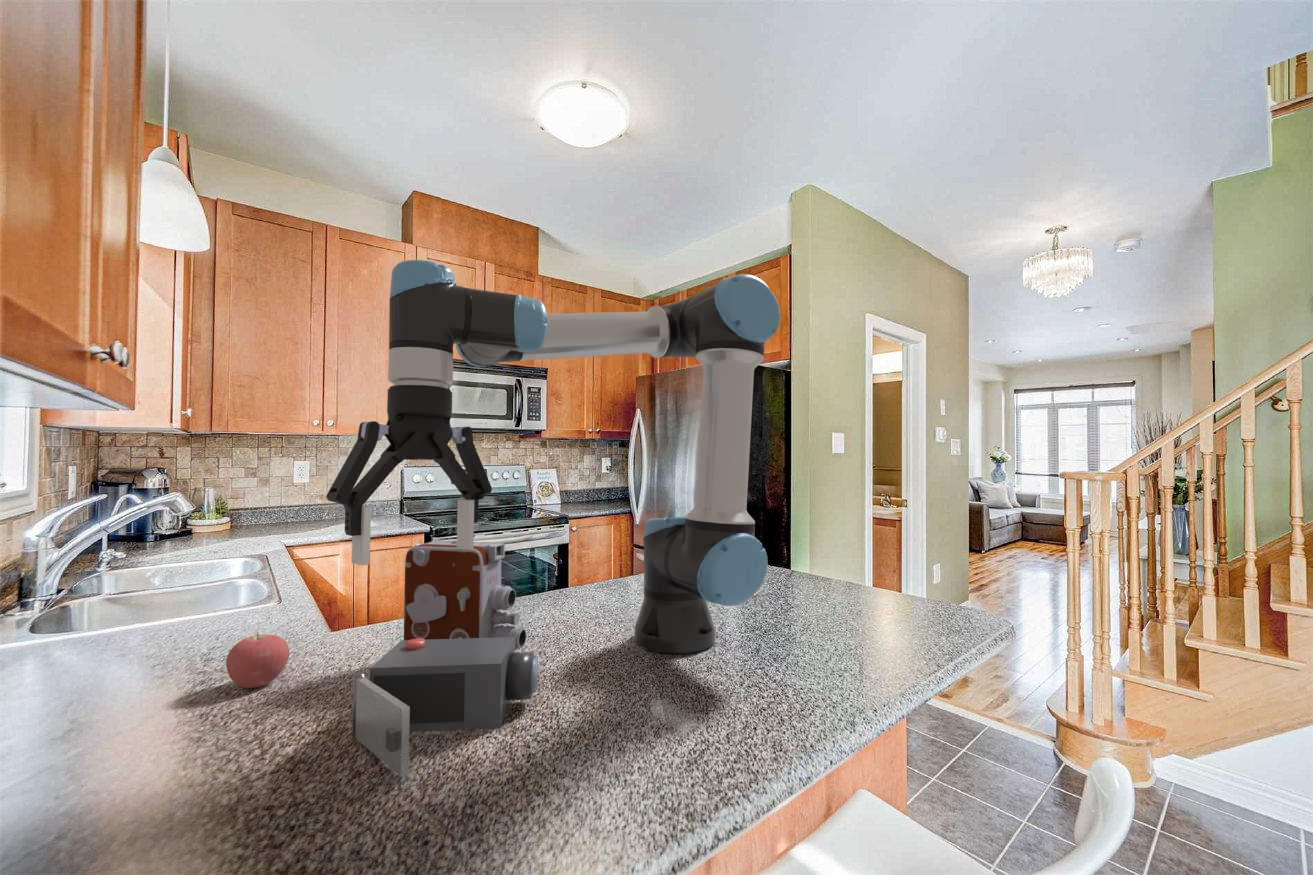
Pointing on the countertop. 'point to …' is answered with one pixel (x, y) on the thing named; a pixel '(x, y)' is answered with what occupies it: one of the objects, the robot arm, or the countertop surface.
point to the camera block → (456, 680)
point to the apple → (257, 660)
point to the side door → (381, 723)
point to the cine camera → (458, 593)
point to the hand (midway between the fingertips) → (417, 555)
